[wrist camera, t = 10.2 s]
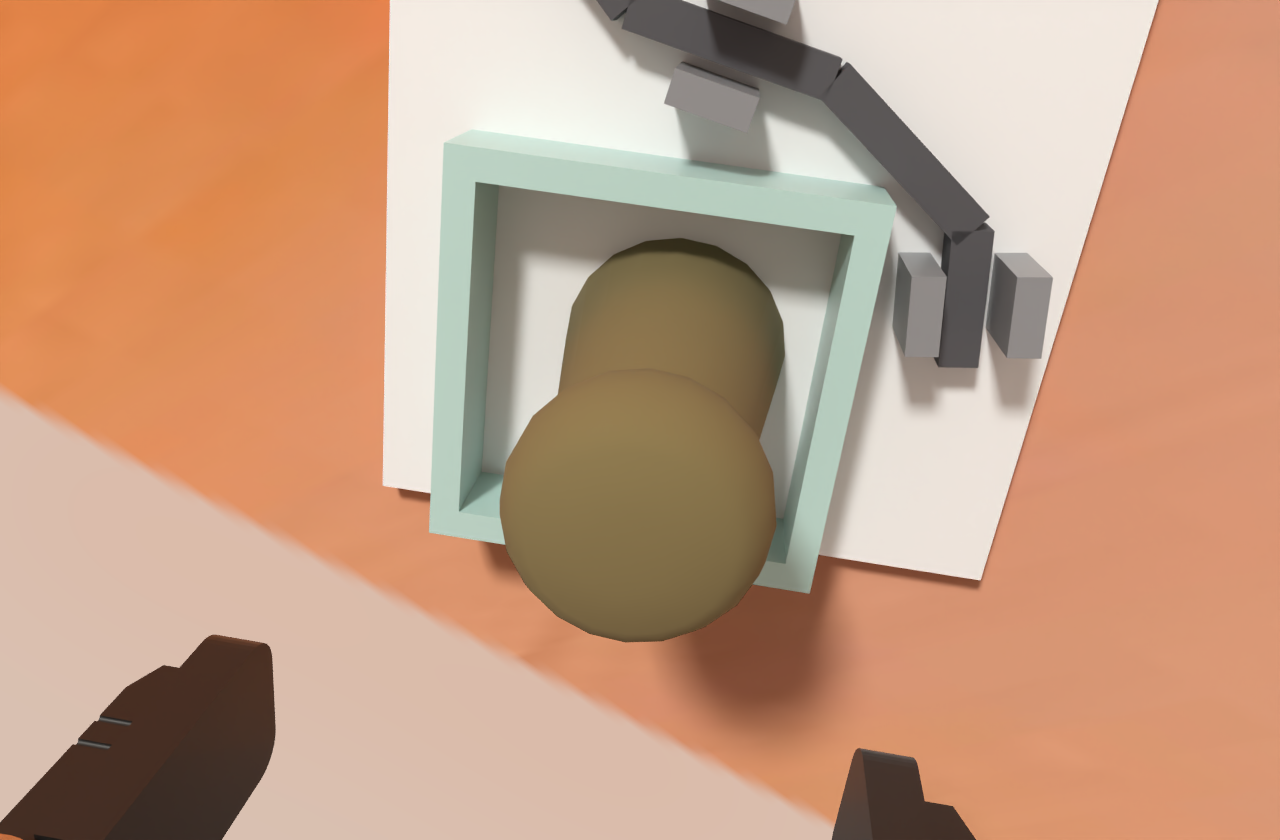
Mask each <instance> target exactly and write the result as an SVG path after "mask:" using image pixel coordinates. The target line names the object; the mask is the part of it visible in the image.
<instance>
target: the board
mask: <svg viewBox="0 0 1280 840" xmlns="http://www.w3.org/2000/svg"><path fill="white" fill-rule="evenodd" d="M683 1H686V2H689V3H692V4H694V5H697V6H700V7H703V8H706V9H708V10H711V11H714V12H717V13H719V14H722V15H725V16H728V17H731V18H733V19H736V20H739V21H742V22H745V23H747V24H750V25H753V26H756V27H758V28H761V29H764V30H767V31H770V32H772V33H775V34H778V35H781V36H783V37H786V38H789V39H792V40H795V41H797V42H800V43H803V44H806V45H809V46H811V47H814V48H817V49H820V50H822V51H825V52H828V53H831V54H834V55H836V56H839V57H841V58H842V59H843V60H842V62H841V65H840V68H841V67H842V66H843V65H844V64H845V63H846V62H848V63H850V64H851V65H852V66H853V67H854V68H855V70H856V71H857V72H858V73H859V74H860V75H861V76H862V77H863V78H864V79H865V80H866V82H867V83H868V84H869V85H870V86H871V87H872V88H873V89H874V90H875V91H876V93H877V94H878V95H879V96H880V97H881V98H882V99H883V100H884V101H885V102H886V103H887V105H888V106H889V107H890V108H891V109H892V110H893V111H894V112H895V113H896V114H897V116H898V117H899V118H900V119H901V120H902V121H903V122H904V123H905V124H906V125H907V126H908V128H909V129H910V130H911V131H912V132H913V133H914V134H915V135H916V136H917V137H918V139H919V140H920V141H921V142H922V143H923V144H924V145H925V146H926V147H927V148H928V149H929V151H930V152H931V153H932V154H933V155H934V156H935V157H936V158H937V159H938V160H939V161H940V163H941V164H942V165H943V166H944V167H945V168H946V169H947V170H948V171H949V172H950V174H951V175H952V176H953V177H954V178H955V179H956V180H957V181H958V182H959V183H960V184H961V186H962V187H963V188H964V189H965V190H966V191H967V192H968V193H969V194H970V195H971V197H972V198H973V199H974V200H975V201H976V202H977V203H978V204H979V205H980V206H981V207H982V209H983V210H984V211H985V212H986V213H987V214H988V215H989V216H990V217H989V218H988V219H987V220H986V221H985V222H984V223H987V224H988V225H989V226H990V227H991V228H992V229H993V230H994V231H995V233H994V241H993V250H992V258H991V266H990V274H989V283H988V291H987V299H986V308H985V316H984V324H983V332H982V341H981V349H980V357H979V366H978V368H945V367H938V366H937V364H936V362H935V360H934V358H933V357H939V348H940V338H941V328H942V318H943V309H944V299H945V289H946V280H947V276H946V275H945V274H944V272H943V271H942V269H941V260H942V250H943V240H944V231H943V230H942V229H941V228H940V227H939V226H938V225H937V224H936V223H935V221H934V220H933V219H932V218H931V217H930V216H929V215H928V214H927V213H926V212H925V211H924V210H923V209H922V208H921V206H920V205H919V204H918V203H917V202H916V201H915V200H914V199H913V198H912V197H911V196H910V195H909V194H908V192H907V191H906V190H905V189H904V188H903V187H902V186H901V185H900V184H899V183H898V182H897V181H896V180H895V179H894V177H893V176H892V175H891V174H890V173H889V172H888V171H887V170H886V169H885V168H884V167H883V166H882V165H881V163H880V162H879V161H878V160H877V159H876V158H875V157H874V156H873V155H872V154H871V153H870V152H869V151H868V150H867V148H866V147H865V146H864V145H863V144H862V143H861V142H860V141H859V140H858V139H857V138H856V137H855V136H854V134H853V133H852V132H851V131H850V130H849V129H848V128H847V127H846V126H845V125H844V124H843V123H842V122H841V121H840V119H839V118H838V117H837V116H836V115H835V114H834V113H833V112H832V111H831V110H830V109H829V108H828V107H827V105H826V104H825V103H824V102H823V101H822V100H819V99H817V98H814V97H811V96H808V95H805V94H803V93H800V92H797V91H794V90H792V89H789V88H786V87H783V86H780V85H778V84H775V83H772V82H769V81H766V80H764V79H761V78H758V77H755V76H752V75H750V74H747V73H744V72H741V71H738V70H736V69H733V68H730V67H727V66H724V65H722V64H719V63H716V62H713V61H710V60H708V59H705V58H702V57H699V56H696V55H694V54H691V53H688V52H685V51H682V50H680V49H677V48H674V47H671V46H669V45H666V44H663V43H660V42H657V41H655V40H652V39H649V38H646V37H643V36H641V35H638V34H635V33H632V32H629V31H627V30H624V29H622V25H623V22H624V18H625V15H626V12H625V13H624V14H623V15H622V16H621V17H620V18H618V19H617V20H614V21H611V20H610V18H609V17H608V16H607V14H606V13H605V12H604V10H603V9H602V8H601V6H600V5H599V3H598V2H597V1H596V0H390V35H389V102H388V170H387V238H386V305H385V373H384V440H383V486H388V487H394V488H401V489H407V490H413V491H420V492H426V493H431V470H432V443H433V416H434V389H435V363H436V336H437V309H438V282H439V255H440V228H441V202H442V175H443V148H444V142H446V141H448V140H450V139H452V138H454V137H457V136H459V135H461V134H463V133H465V132H467V131H469V130H471V129H473V130H480V131H487V132H495V133H502V134H509V135H516V136H523V137H530V138H538V139H545V140H552V141H559V142H566V143H573V144H581V145H588V146H595V147H602V148H609V149H616V150H624V151H631V152H638V153H645V154H652V155H659V156H667V157H674V158H681V159H688V160H695V161H702V162H710V163H717V164H724V165H731V166H738V167H745V168H753V169H760V170H767V171H774V172H781V173H788V174H796V175H803V176H810V177H817V178H824V179H831V180H839V181H846V182H853V183H860V184H867V185H874V186H881V187H884V188H885V189H886V191H887V192H888V194H889V195H890V197H891V198H892V200H893V201H894V203H895V204H896V206H897V208H896V212H895V217H894V221H893V226H892V230H891V235H890V239H889V243H888V248H887V252H886V257H885V261H884V266H883V270H882V275H881V279H880V283H879V288H878V292H877V297H876V301H875V306H874V310H873V315H872V319H871V323H870V328H869V332H868V337H867V341H866V346H865V350H864V354H863V359H862V363H861V368H860V372H859V377H858V381H857V386H856V390H855V394H854V399H853V403H852V408H851V412H850V417H849V421H848V425H847V430H846V434H845V439H844V443H843V448H842V452H841V457H840V461H839V465H838V470H837V474H836V479H835V483H834V488H833V492H832V496H831V501H830V505H829V510H828V514H827V519H826V523H825V528H824V532H823V536H822V541H821V545H820V550H819V554H818V555H823V556H830V557H836V558H842V559H849V560H855V561H861V562H867V563H874V564H880V565H886V566H893V567H899V568H905V569H912V570H918V571H924V572H931V573H937V574H943V575H949V576H956V577H962V578H968V579H975V580H981V577H982V574H983V570H984V567H985V564H986V561H987V557H988V554H989V551H990V548H991V544H992V541H993V538H994V535H995V531H996V528H997V525H998V522H999V518H1000V515H1001V512H1002V509H1003V505H1004V502H1005V499H1006V495H1007V492H1008V489H1009V486H1010V482H1011V479H1012V476H1013V473H1014V469H1015V466H1016V463H1017V460H1018V456H1019V453H1020V450H1021V447H1022V443H1023V440H1024V437H1025V434H1026V430H1027V427H1028V424H1029V421H1030V417H1031V414H1032V411H1033V408H1034V404H1035V401H1036V398H1037V395H1038V391H1039V388H1040V385H1041V382H1042V378H1043V375H1044V372H1045V369H1046V365H1047V362H1048V359H1049V356H1050V352H1051V349H1052V346H1053V343H1054V339H1055V336H1056V333H1057V329H1058V326H1059V323H1060V320H1061V316H1062V313H1063V310H1064V307H1065V303H1066V300H1067V297H1068V294H1069V290H1070V287H1071V284H1072V281H1073V277H1074V274H1075V271H1076V268H1077V264H1078V261H1079V258H1080V255H1081V251H1082V248H1083V245H1084V242H1085V238H1086V235H1087V232H1088V229H1089V225H1090V222H1091V219H1092V216H1093V212H1094V209H1095V206H1096V203H1097V199H1098V196H1099V193H1100V190H1101V186H1102V183H1103V180H1104V177H1105V173H1106V170H1107V167H1108V164H1109V160H1110V157H1111V154H1112V150H1113V147H1114V144H1115V141H1116V137H1117V134H1118V131H1119V128H1120V124H1121V121H1122V118H1123V115H1124V111H1125V108H1126V105H1127V102H1128V98H1129V95H1130V92H1131V89H1132V85H1133V82H1134V79H1135V76H1136V72H1137V69H1138V66H1139V63H1140V59H1141V56H1142V53H1143V50H1144V46H1145V43H1146V40H1147V37H1148V33H1149V30H1150V27H1151V24H1152V20H1153V17H1154V14H1155V11H1156V7H1157V4H1158V1H1159V0H683ZM840 68H839V69H840ZM674 238H684V239H689V240H693V241H697V242H702V243H706V244H711V245H715V246H718V247H719V248H721V249H723V250H724V251H726V252H728V253H729V254H731V255H733V256H734V257H736V258H738V259H739V260H741V261H743V262H744V263H746V264H748V266H749V267H750V268H751V269H752V270H753V271H754V273H755V274H756V275H757V276H758V277H759V278H760V279H761V281H762V282H763V283H764V284H765V285H766V286H767V287H768V289H769V290H770V291H771V294H772V296H773V299H774V301H775V303H776V306H777V308H778V311H779V313H780V316H781V318H782V320H783V327H784V345H785V358H784V361H783V365H782V368H781V372H780V375H779V379H778V382H777V386H776V389H775V392H774V395H773V398H772V402H771V405H770V408H769V411H768V414H767V417H766V421H765V424H764V427H763V430H762V433H761V437H760V440H759V441H760V443H761V446H762V448H763V450H764V453H765V455H766V457H767V459H768V462H769V464H770V466H771V469H772V471H773V479H774V493H775V508H776V518H780V519H783V517H784V512H785V508H786V503H787V498H788V493H789V488H790V483H791V478H792V473H793V468H794V464H795V459H796V454H797V449H798V444H799V439H800V434H801V429H802V425H803V420H804V415H805V410H806V405H807V400H808V395H809V390H810V385H811V381H812V376H813V371H814V366H815V361H816V356H817V351H818V346H819V342H820V337H821V332H822V327H823V322H824V317H825V312H826V307H827V302H828V298H829V293H830V288H831V283H832V278H833V273H834V268H835V263H836V259H837V254H838V249H839V244H840V239H841V234H839V233H832V232H825V231H818V230H811V229H804V228H797V227H790V226H783V225H776V224H769V223H762V222H755V221H748V220H741V219H734V218H727V217H720V216H713V215H706V214H699V213H692V212H685V211H678V210H671V209H664V208H657V207H650V206H643V205H636V204H629V203H621V202H614V201H607V200H600V199H593V198H586V197H579V196H572V195H565V194H558V193H551V192H544V191H537V190H530V189H523V188H516V187H509V186H502V185H499V194H498V211H497V228H496V244H495V261H494V277H493V294H492V310H491V327H490V343H489V360H488V376H487V393H486V409H485V426H484V442H483V459H482V472H487V473H494V474H500V475H504V471H505V465H506V461H507V460H508V458H509V456H510V454H511V453H512V451H513V449H514V447H515V446H516V444H517V442H518V440H519V439H520V437H521V435H522V434H523V432H524V430H525V428H526V427H527V425H528V423H529V421H530V420H531V418H532V416H533V415H534V414H536V413H537V412H538V411H539V410H540V409H542V408H543V407H544V406H545V405H546V404H547V403H549V402H550V401H551V400H552V399H553V398H555V397H556V396H557V395H558V389H559V382H560V375H561V368H562V362H563V355H564V348H565V341H566V335H567V329H568V324H569V319H570V313H571V308H572V305H573V303H574V301H575V300H576V298H577V296H578V294H579V292H580V291H581V289H582V287H583V285H584V284H585V282H586V280H587V278H588V277H589V276H590V275H591V274H592V273H593V272H595V271H596V270H597V269H598V268H599V267H600V266H601V265H602V264H604V263H605V262H606V261H607V260H608V259H609V258H610V257H611V256H613V255H614V254H616V253H619V252H621V251H623V250H626V249H628V248H630V247H633V246H635V245H637V244H640V243H642V242H644V241H650V240H662V239H674Z"/></svg>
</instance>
